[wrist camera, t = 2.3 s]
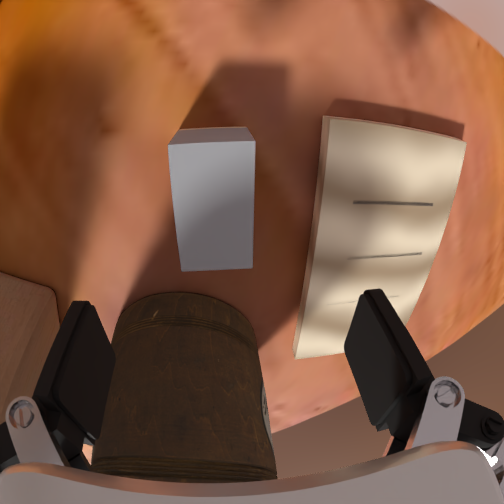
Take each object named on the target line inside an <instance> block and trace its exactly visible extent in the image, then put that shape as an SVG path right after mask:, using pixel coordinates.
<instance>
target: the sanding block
mask: <svg viewBox="0 0 504 504" xmlns="http://www.w3.org/2000/svg"><path fill="white" fill-rule="evenodd" d="M168 154H169V167H170V179H171V189H172V199H173V209H174V218H175V226H176V234H177V242H178V250H179V257H180V264H181V271H182V272H184V271H206V270H227V269H247V268H253V229H254V184H255V140H254V138H253V136H252V135H251V133H250V131H249V130H248V128H247V127H209V128H191V129H179V130H178V131H177V133H176V134H175V135H174V137H173V138H172V140H171V141H170V143H169V144H168Z"/></svg>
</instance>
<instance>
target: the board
mask: <svg viewBox="0 0 504 504" xmlns="http://www.w3.org/2000/svg"><path fill="white" fill-rule="evenodd" d="M466 144H467V142H465V141H462V140H460V139H458V138H455V137H451V136H447V135H443V134H439V133H435V132H430V131H425V130H421V129H416V128H411V127H405V126H400V125H394V124H388V123H382V122H375V121H368V120H361V119H352V118H344V117H334V116H323V120H322V133H321V145H320V156H319V166H318V176H317V185H316V194H315V203H314V211H313V219H312V227H311V235H310V242H309V249H308V257H307V264H306V270H305V277H304V283H303V290H302V296H301V302H300V308H299V314H298V320H297V326H296V331H295V337H294V342H293V348H292V350H293V353H294V357H295V359H303V358H310V357H318V356H325V355H332V354H338V353H344V342H345V340H346V337H347V334H348V331H349V328H350V325H351V322H352V319H353V315H354V312H355V309H356V306H357V303H358V299H359V296H360V295H361V294H363V293H364V291H365V290H368V289H379V288H380V289H382V290H383V292H384V293H385V295H386V296H387V298H388V300H389V301H390V303H391V304H392V306H393V308H394V309H395V311H396V313H397V314H398V316H399V317H400V319H401V321H402V322H403V324H404V325H405V326H406V324H407V322H408V320H409V318H410V316H411V313H412V311H413V309H414V307H415V305H416V303H417V300H418V298H419V296H420V293H421V291H422V289H423V286H424V284H425V282H426V279H427V277H428V274H429V272H430V269H431V266H432V264H433V261H434V259H435V256H436V253H437V250H438V248H439V245H440V242H441V239H442V236H443V233H444V230H445V227H446V224H447V220H448V217H449V214H450V210H451V207H452V204H453V200H454V196H455V193H456V189H457V185H458V181H459V177H460V172H461V168H462V163H463V159H464V154H465V149H466Z"/></svg>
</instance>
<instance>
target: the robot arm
mask: <svg viewBox="0 0 504 504" xmlns="http://www.w3.org/2000/svg"><path fill="white" fill-rule="evenodd" d="M344 352H345V355H346V357H347V360H348V362H349V365H350V368H351V370H352V373H353V376H354V378H355V381H356V384H357V386H358V389H359V392H360V395H361V397H362V400H363V403H364V406H365V408H366V411H367V414H368V417H369V420H370V422H371V424H372V425H374V426H376V429H377V431H381V430H385V429H388V428H389V431H390V433H391V437H390V440H389V442H388V444H387V447H386V449H385V451H384V454H383V456H382V458H378V459H375V460H371V461H367V462H363V463H360V464H356V465H352V466H348V467H344V468H339V469H335V470H330V471H325V472H320V473H315V474H310V475H304V476H297V477H290V478H283V479H274V480H265V481H254V482H238V483H176V482H161V481H150V480H141V479H133V478H125V477H119V476H112V475H106V474H100V473H95V472H94V470H93V469H92V467H91V465H90V464H89V462H88V460H87V459H86V457H85V455H84V454H83V452H82V448H83V444H88V445H93V446H95V441H96V439H99V437H100V433H101V428H102V422H103V417H104V412H105V407H106V402H107V397H108V393H109V388H110V384H111V379H112V375H113V371H114V367H115V363H116V356H115V353H114V350H113V348H112V346H111V344H110V342H109V340H108V337H107V335H106V333H105V330H104V328H103V326H102V323H101V321H100V319H99V316H98V314H97V311H96V309H95V307H94V306H93V305H91V304H90V302H89V301H73V302H72V303H71V305H70V307H69V309H68V311H67V314H66V316H65V318H64V320H63V322H62V324H61V326H60V329H59V331H58V333H57V335H56V337H55V340H54V342H53V344H52V346H51V349H50V351H49V354H48V356H47V358H46V361H45V363H44V366H43V368H42V371H41V374H40V376H39V379H38V382H37V384H36V387H35V390H34V393H33V396H32V399H31V398H30V397H27V396H20V397H18V398H15V399H14V400H13V401H12V402H11V403H10V404H9V405H8V408H7V410H6V416H5V417H6V421H5V422H3V423H2V424H0V504H504V420H503V418H502V417H501V416H500V415H499V414H498V413H497V412H495V411H493V410H491V409H488V408H486V407H483V406H481V405H479V404H476V403H474V402H471V401H469V400H467V399H465V394H464V390H463V388H462V387H461V385H460V384H459V383H458V382H457V381H456V380H454V379H452V378H450V377H439V378H437V379H434V377H433V375H432V373H431V371H430V369H429V367H428V366H427V364H426V362H425V360H424V358H423V356H422V355H421V353H420V351H419V349H418V348H417V346H416V344H415V342H414V341H413V339H412V337H411V335H410V334H409V332H408V330H407V329H406V327H405V325H404V324H403V322H402V321H401V319H400V317H399V316H398V314H397V313H396V311H395V309H394V308H393V306H392V304H391V303H390V301H389V300H388V298H387V296H386V295H385V293H384V292H383V290H382V289H380V288H379V289H368V290H365V291H364V293H363V294H361V295H360V296H359V299H358V303H357V306H356V309H355V312H354V315H353V319H352V322H351V325H350V328H349V331H348V334H347V337H346V340H345V342H344Z"/></svg>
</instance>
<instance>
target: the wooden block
mask: <svg viewBox="0 0 504 504" xmlns="http://www.w3.org/2000/svg"><path fill="white" fill-rule="evenodd" d="M59 329H60V323H59V317H58V310H57V304H56V297H55V293H54V291H53V290H51V289H50V288H49V287H45V286H42V285H39V284H35V283H32V282H29V281H26V280H23V279H20V278H16V277H13V276H10V275H7V274H4V273H1V272H0V424H2V423H3V422H5V421H6V417H5V416H6V410H7V408H8V405H9V404H10V403H11V402H12V401H13V400H14V399H15V398H18V397H20V396H27V397H30V398H31V399H32V396H33V393H34V390H35V387H36V384H37V382H38V379H39V376H40V374H41V371H42V368H43V366H44V363H45V361H46V358H47V356H48V354H49V351H50V349H51V346H52V344H53V342H54V340H55V337H56V335H57V333H58V331H59Z"/></svg>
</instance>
